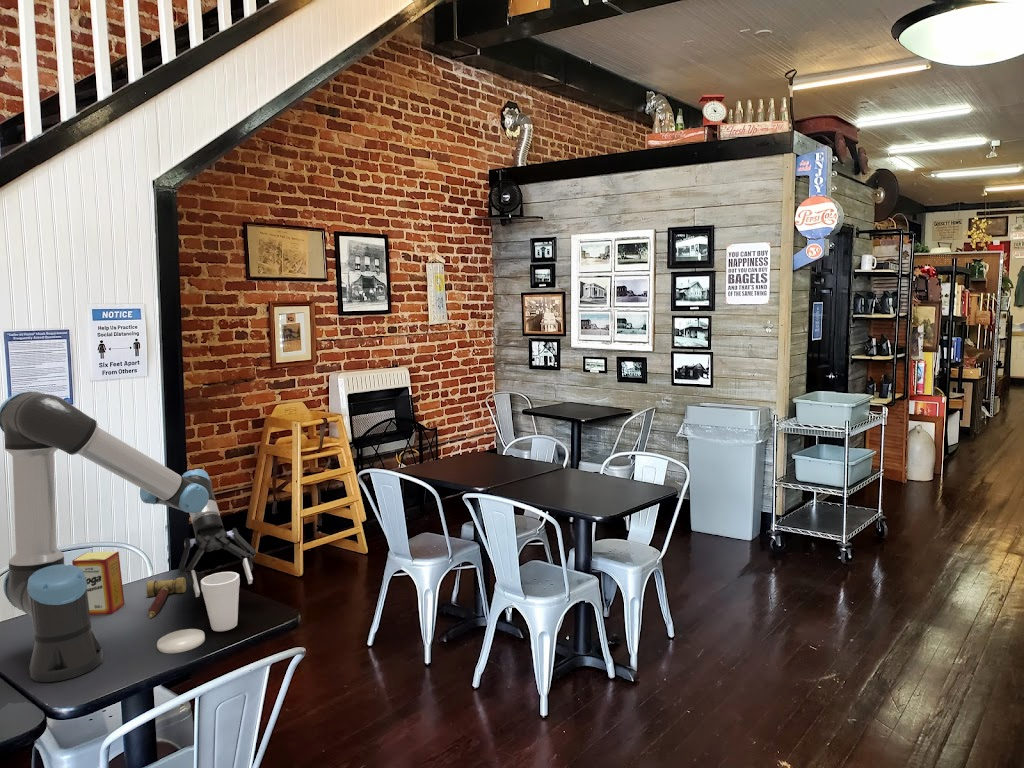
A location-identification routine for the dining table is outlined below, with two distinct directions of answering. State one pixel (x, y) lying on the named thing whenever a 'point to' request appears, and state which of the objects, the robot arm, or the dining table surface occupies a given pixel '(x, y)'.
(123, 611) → the dining table surface
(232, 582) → the foam cup
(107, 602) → the baking soda box
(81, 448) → the robot arm
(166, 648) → the plate
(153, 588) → the gavel
